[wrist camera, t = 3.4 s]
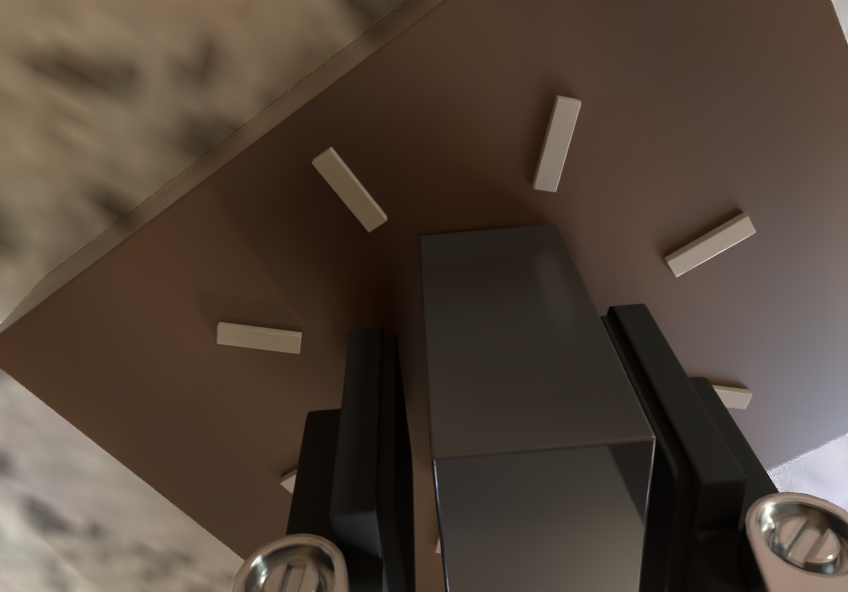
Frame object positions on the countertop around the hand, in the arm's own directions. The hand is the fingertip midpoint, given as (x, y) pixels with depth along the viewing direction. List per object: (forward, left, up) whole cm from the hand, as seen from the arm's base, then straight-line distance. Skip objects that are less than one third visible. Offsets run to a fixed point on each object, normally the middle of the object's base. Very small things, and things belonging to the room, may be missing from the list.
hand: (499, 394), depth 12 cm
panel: (0, 0, -3) cm, 3 cm away
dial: (0, 0, -1) cm, 1 cm away
